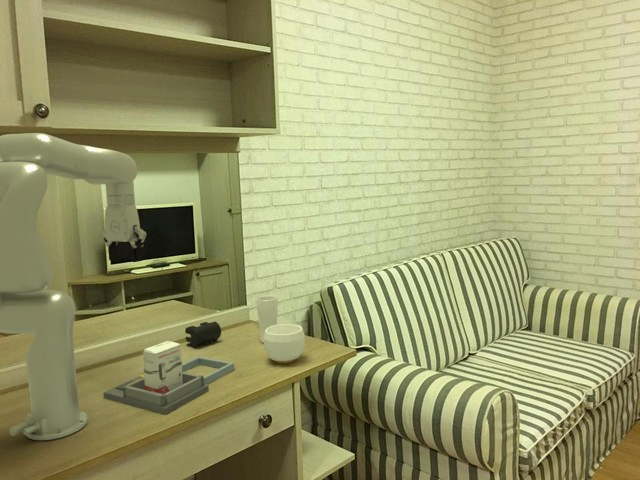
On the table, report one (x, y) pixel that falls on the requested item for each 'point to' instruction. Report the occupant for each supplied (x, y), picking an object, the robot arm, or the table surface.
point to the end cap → (203, 334)
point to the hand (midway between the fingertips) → (125, 260)
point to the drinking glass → (266, 313)
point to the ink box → (163, 367)
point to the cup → (284, 342)
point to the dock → (157, 402)
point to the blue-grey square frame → (223, 365)
